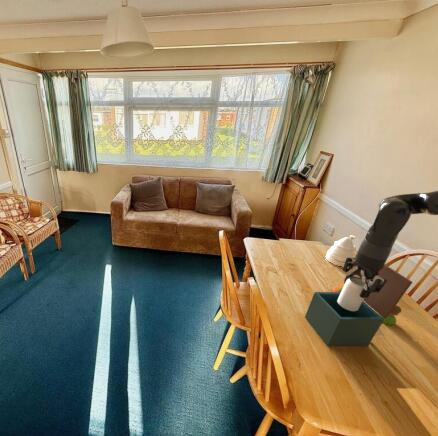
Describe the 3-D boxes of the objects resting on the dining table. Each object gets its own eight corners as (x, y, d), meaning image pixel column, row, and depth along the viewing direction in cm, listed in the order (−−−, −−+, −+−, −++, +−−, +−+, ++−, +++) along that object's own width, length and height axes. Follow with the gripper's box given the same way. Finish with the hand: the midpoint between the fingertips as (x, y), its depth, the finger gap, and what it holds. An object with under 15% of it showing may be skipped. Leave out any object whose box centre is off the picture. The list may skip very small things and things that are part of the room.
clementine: (338, 305, 108) (344, 293, 105) (326, 294, 114) (330, 283, 111) (353, 303, 109) (359, 291, 106) (339, 292, 115) (345, 281, 112)
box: (327, 346, 88) (340, 319, 82) (304, 316, 101) (314, 291, 95) (368, 346, 88) (384, 319, 82) (340, 317, 101) (352, 291, 95)
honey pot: (344, 257, 144) (355, 232, 136) (356, 269, 132) (368, 242, 125) (321, 254, 146) (330, 229, 139) (331, 266, 135) (342, 240, 128)
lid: (410, 281, 75) (412, 282, 75) (372, 257, 88) (374, 257, 88) (384, 318, 82) (386, 318, 82) (352, 291, 95) (354, 291, 95)
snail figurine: (370, 315, 102) (382, 295, 97) (389, 320, 99) (402, 300, 94) (375, 324, 98) (387, 303, 93) (395, 330, 95) (409, 309, 90)
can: (362, 313, 85) (375, 288, 80) (342, 310, 86) (354, 286, 81) (351, 300, 91) (363, 276, 86) (333, 298, 92) (344, 274, 87)
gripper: (405, 265, 72) (382, 304, 79) (365, 242, 85) (349, 277, 92) (381, 265, 72) (361, 304, 79) (345, 242, 85) (330, 277, 92)
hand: (354, 290), depth 86 cm, fingers closed on can, 6 cm apart
